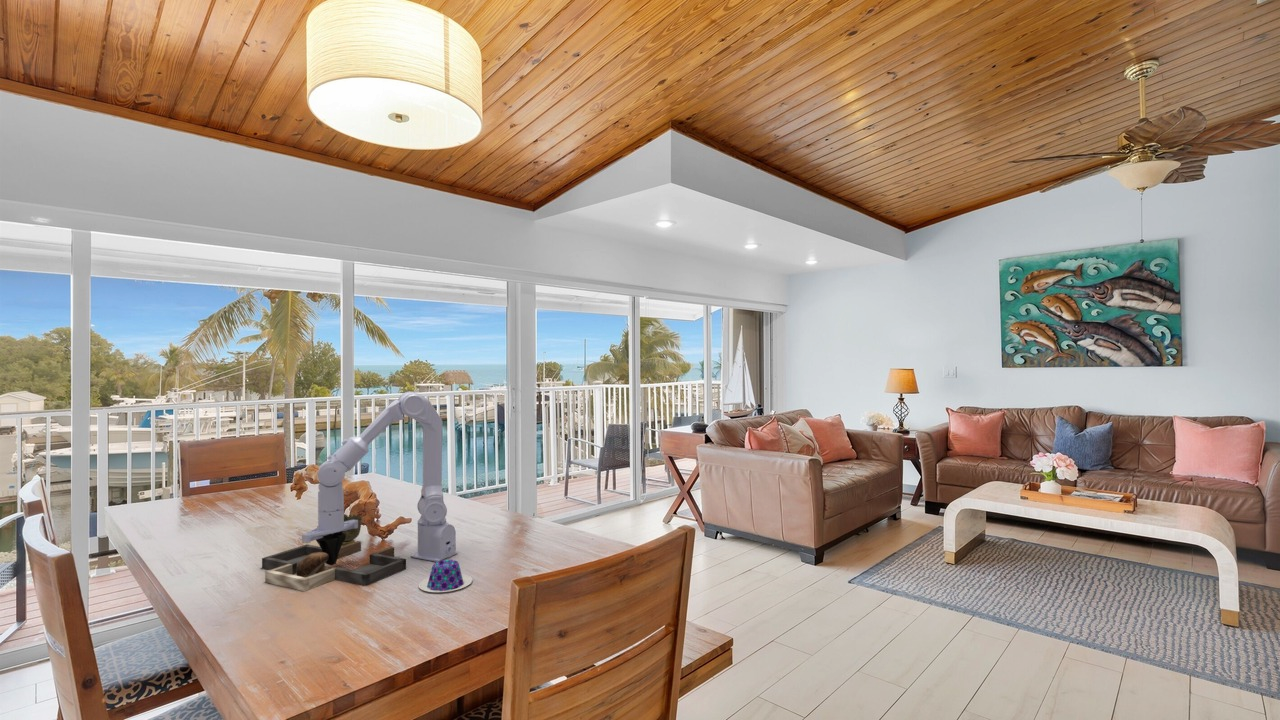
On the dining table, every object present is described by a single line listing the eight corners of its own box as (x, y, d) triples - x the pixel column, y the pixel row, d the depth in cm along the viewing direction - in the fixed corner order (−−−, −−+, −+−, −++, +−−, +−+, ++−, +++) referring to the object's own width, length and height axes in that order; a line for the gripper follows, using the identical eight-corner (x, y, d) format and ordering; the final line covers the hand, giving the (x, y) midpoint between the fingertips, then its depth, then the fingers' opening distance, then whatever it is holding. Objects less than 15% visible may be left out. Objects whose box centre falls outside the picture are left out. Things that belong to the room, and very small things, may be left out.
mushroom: (343, 559, 149) (326, 540, 148) (319, 582, 142) (301, 562, 141) (326, 570, 153) (309, 551, 152) (302, 592, 146) (284, 573, 145)
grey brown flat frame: (423, 561, 158) (423, 552, 158) (335, 598, 134) (335, 586, 134) (332, 545, 171) (332, 536, 171) (237, 576, 147) (237, 565, 147)
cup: (350, 550, 167) (350, 521, 167) (326, 548, 169) (326, 519, 169) (367, 542, 175) (367, 514, 174) (344, 540, 176) (344, 512, 176)
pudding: (417, 580, 146) (417, 558, 146) (469, 573, 150) (469, 552, 150) (418, 598, 134) (418, 575, 134) (475, 591, 139) (474, 568, 139)
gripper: (344, 501, 160) (344, 553, 160) (293, 514, 147) (293, 570, 147) (363, 504, 157) (363, 556, 157) (313, 517, 144) (313, 575, 144)
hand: (331, 563), depth 152 cm, fingers closed
